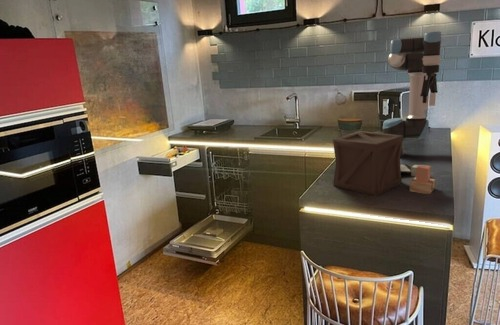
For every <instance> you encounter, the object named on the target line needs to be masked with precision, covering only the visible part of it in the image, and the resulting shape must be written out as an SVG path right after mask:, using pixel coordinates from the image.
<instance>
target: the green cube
mask: <svg viewBox="0 0 500 325" xmlns="http://www.w3.org/2000/svg"><path fill="white" fill-rule="evenodd" d="M419 165H420V164H413V165H412V166H411V169H412V171H411V172H410V173H411V174H410V176H411V177H416V172H417V167H418V166H419Z"/></svg>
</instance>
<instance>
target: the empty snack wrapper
mask: <svg viewBox="0 0 500 325" xmlns="http://www.w3.org/2000/svg"><path fill="white" fill-rule="evenodd" d="M400 168H401V173H412V166H410V165H408V164H405V163H403V164H400Z"/></svg>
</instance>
